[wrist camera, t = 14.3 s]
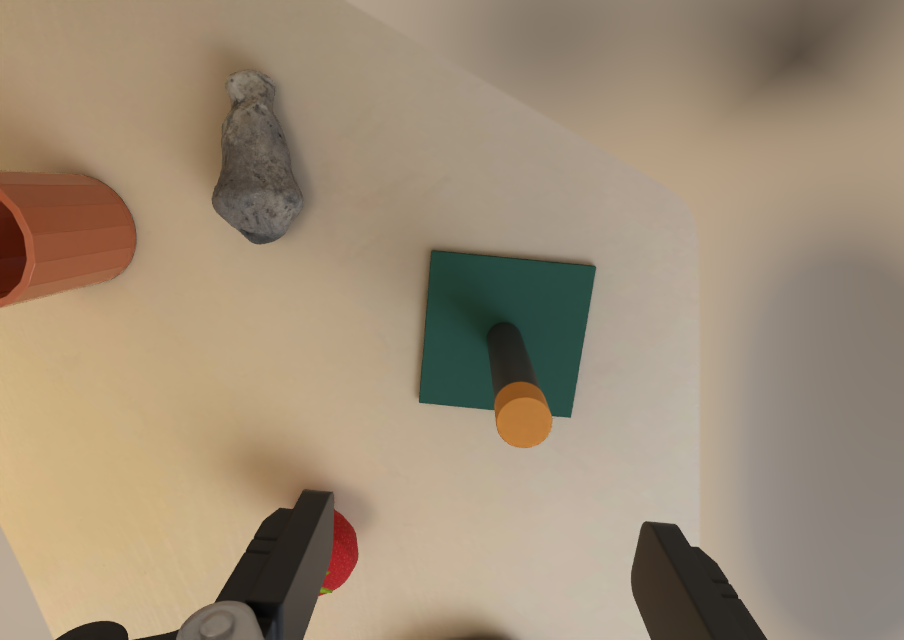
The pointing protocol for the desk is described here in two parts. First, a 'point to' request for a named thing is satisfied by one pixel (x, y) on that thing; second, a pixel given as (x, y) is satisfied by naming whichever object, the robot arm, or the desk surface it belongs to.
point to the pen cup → (59, 234)
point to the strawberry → (340, 554)
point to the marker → (516, 389)
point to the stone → (255, 163)
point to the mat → (495, 301)
